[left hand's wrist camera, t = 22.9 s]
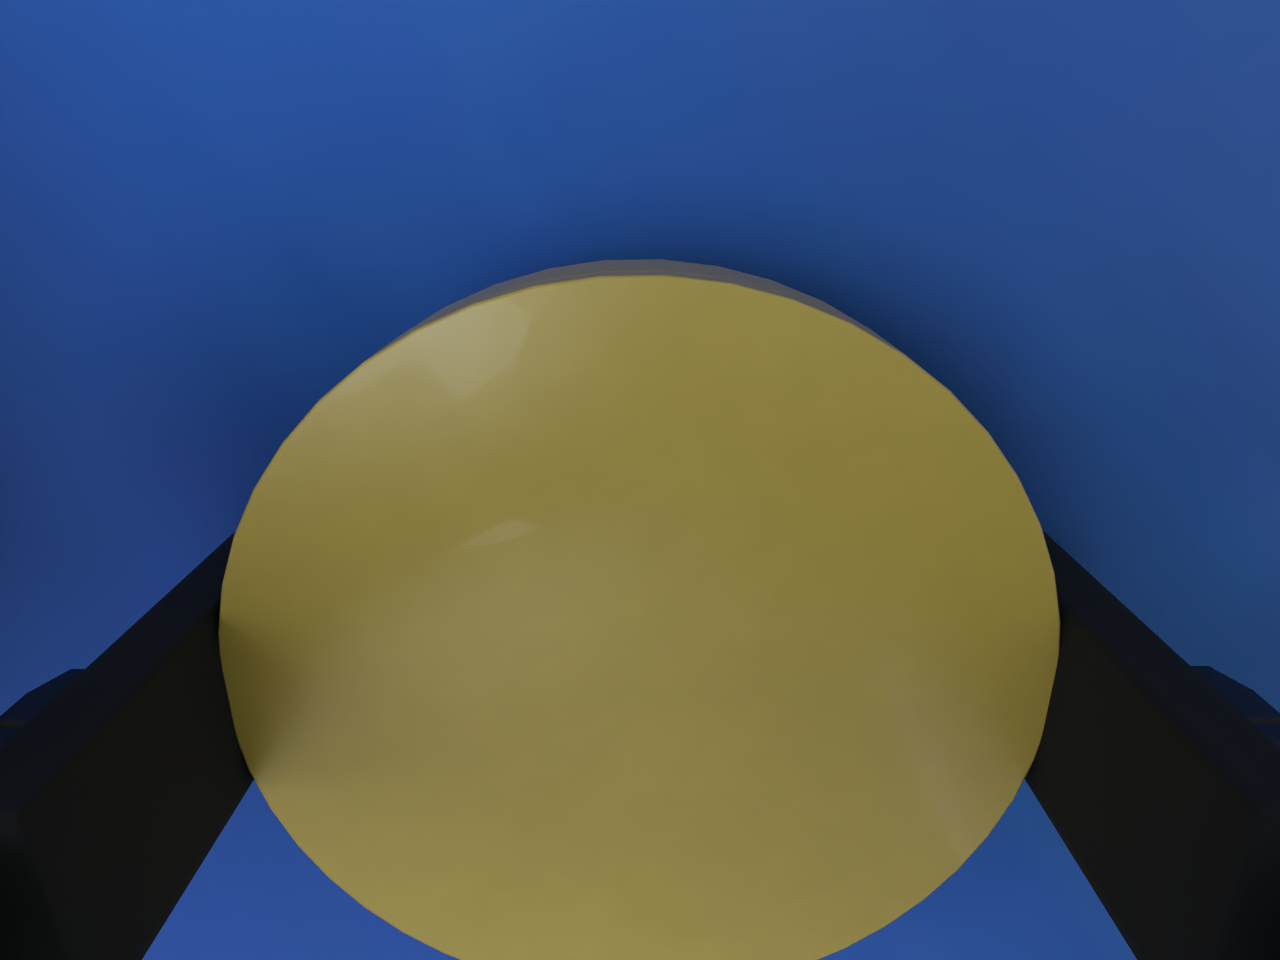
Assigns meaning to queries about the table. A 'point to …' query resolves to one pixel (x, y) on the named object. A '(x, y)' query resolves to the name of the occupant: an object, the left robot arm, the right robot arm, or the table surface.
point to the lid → (639, 624)
